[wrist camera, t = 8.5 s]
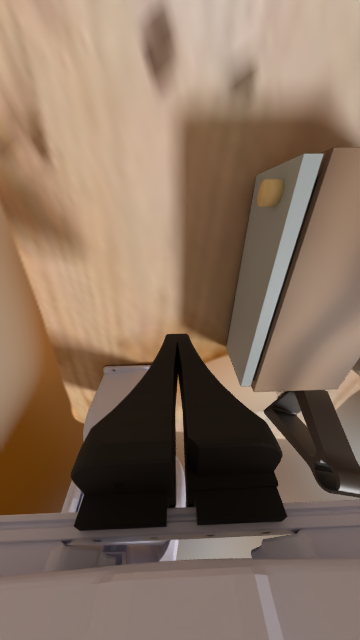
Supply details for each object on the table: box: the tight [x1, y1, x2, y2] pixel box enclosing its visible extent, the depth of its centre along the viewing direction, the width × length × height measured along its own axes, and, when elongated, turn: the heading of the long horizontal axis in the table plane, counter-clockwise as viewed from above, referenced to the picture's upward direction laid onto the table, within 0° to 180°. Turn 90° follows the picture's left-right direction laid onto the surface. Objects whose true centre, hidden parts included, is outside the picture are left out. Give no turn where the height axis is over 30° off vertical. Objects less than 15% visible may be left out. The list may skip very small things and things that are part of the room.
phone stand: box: [264, 390, 360, 498], centre depth 26 cm, size 9×6×12 cm, turn 154°
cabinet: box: [251, 147, 360, 392], centre depth 17 cm, size 9×19×6 cm, turn 1°
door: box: [226, 154, 323, 387], centre depth 16 cm, size 2×18×6 cm, turn 0°
